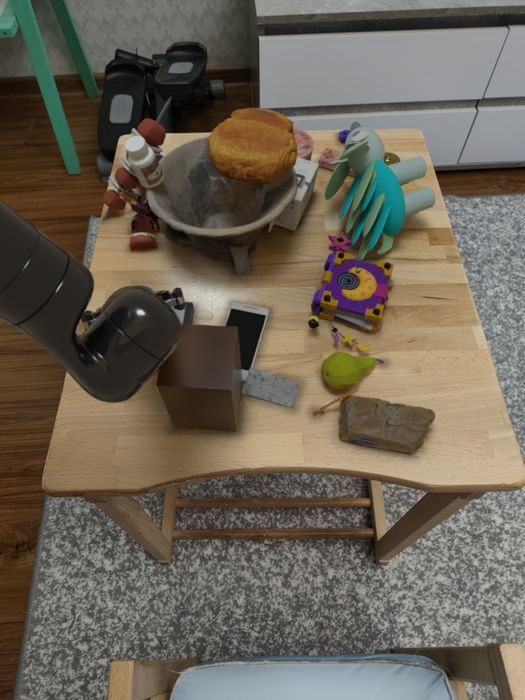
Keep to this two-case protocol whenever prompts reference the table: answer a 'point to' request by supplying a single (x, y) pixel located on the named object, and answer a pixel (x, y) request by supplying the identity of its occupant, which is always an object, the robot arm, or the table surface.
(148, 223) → the dentures model
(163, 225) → the bowl
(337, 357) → the fruit
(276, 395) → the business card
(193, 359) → the stand
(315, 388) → the table surface
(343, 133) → the blue irregular piece
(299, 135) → the container
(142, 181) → the pill bottle
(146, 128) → the skewer
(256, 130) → the bread loaf
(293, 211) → the ink box
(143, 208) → the toy car
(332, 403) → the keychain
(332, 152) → the toy
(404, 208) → the teal bird figurine
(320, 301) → the book
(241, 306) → the smartphone
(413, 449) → the stone
